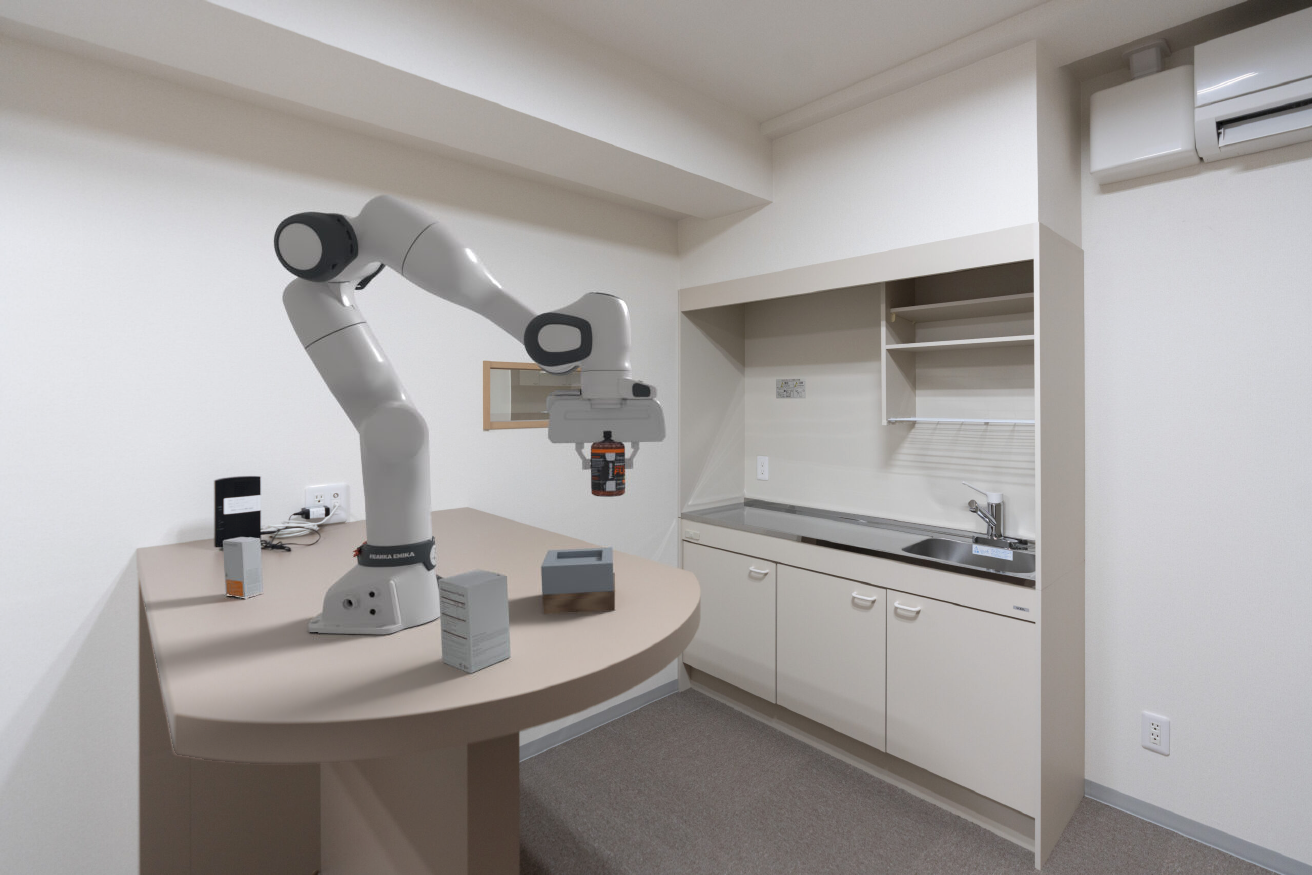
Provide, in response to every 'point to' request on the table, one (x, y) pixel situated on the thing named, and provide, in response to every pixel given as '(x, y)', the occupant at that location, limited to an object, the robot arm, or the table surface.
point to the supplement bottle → (607, 467)
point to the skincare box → (243, 566)
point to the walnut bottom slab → (579, 602)
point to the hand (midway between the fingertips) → (607, 469)
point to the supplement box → (474, 619)
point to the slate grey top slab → (577, 571)
